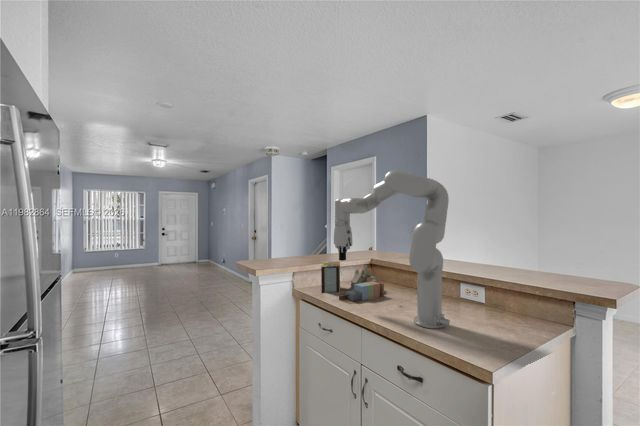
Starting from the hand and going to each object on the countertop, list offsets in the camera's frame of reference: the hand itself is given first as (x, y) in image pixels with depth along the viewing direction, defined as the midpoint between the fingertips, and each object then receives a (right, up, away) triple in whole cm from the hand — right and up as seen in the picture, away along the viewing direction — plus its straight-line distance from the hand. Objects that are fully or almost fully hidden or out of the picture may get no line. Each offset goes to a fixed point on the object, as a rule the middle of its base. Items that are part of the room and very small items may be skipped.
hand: (342, 260), depth 153 cm
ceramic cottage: (+15, -22, +24) cm, 36 cm away
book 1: (+10, -21, +7) cm, 24 cm away
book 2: (+14, -21, +9) cm, 27 cm away
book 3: (+17, -21, +12) cm, 30 cm away
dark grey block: (+6, -21, +4) cm, 22 cm away
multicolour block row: (+11, -22, +7) cm, 25 cm away
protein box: (-5, -22, +28) cm, 36 cm away
